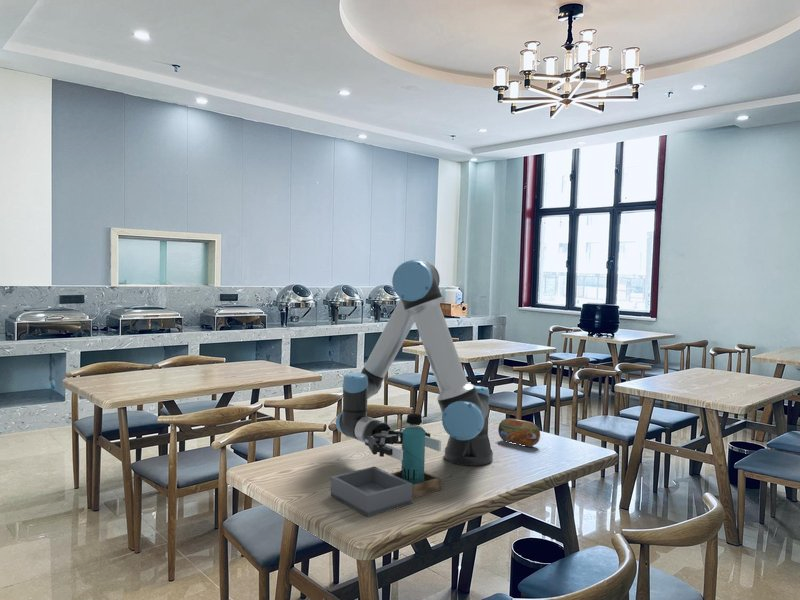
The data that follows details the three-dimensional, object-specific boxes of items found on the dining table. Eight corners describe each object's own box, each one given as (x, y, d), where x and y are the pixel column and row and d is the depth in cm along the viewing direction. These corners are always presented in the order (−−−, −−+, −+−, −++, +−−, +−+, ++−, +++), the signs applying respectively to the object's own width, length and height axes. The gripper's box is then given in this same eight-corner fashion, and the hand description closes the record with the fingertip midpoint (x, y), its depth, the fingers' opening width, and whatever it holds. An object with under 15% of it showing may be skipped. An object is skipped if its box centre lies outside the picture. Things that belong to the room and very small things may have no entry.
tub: (373, 484, 159) (374, 466, 158) (412, 503, 146) (412, 483, 146) (330, 495, 150) (330, 476, 150) (367, 516, 137) (367, 496, 137)
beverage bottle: (421, 483, 161) (423, 411, 160) (426, 492, 154) (428, 417, 153) (398, 483, 160) (400, 411, 159) (402, 492, 153) (404, 417, 152)
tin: (497, 440, 204) (498, 416, 204) (501, 438, 207) (502, 415, 206) (536, 449, 195) (537, 424, 194) (541, 447, 197) (541, 423, 197)
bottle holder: (414, 477, 165) (414, 467, 165) (441, 489, 156) (441, 478, 156) (383, 486, 158) (384, 475, 158) (410, 498, 149) (410, 487, 149)
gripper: (405, 438, 178) (454, 456, 162) (337, 452, 163) (383, 473, 146) (406, 414, 178) (455, 429, 162) (338, 425, 162) (384, 444, 146)
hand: (421, 450), depth 154 cm, fingers open, 13 cm apart
